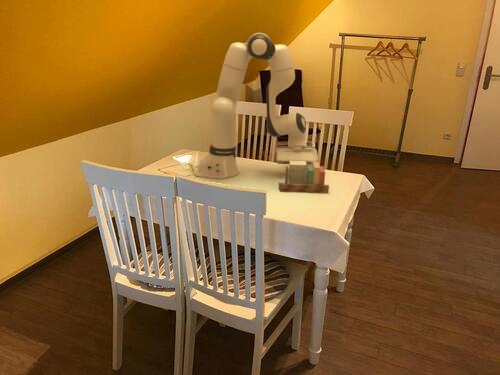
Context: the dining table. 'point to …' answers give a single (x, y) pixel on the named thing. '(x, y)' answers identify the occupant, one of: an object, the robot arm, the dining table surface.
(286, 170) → the bookend
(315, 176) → the upright books
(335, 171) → the dining table surface
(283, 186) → the walnut rail
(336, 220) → the dining table surface
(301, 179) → the small box
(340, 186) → the dining table surface
